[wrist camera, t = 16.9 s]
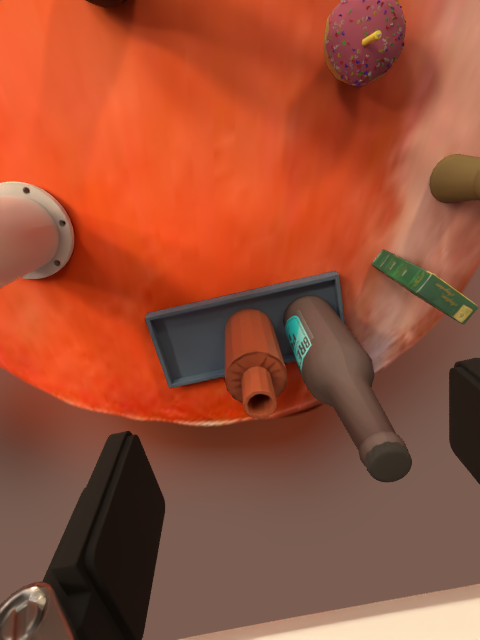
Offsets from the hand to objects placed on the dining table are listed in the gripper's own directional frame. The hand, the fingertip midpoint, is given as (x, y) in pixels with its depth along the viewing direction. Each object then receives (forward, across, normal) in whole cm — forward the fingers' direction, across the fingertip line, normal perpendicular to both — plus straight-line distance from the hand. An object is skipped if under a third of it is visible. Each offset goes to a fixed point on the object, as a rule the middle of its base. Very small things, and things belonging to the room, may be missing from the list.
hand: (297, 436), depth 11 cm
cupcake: (+42, -17, -17) cm, 49 cm away
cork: (+42, -29, 0) cm, 51 cm away
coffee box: (+42, -21, +11) cm, 49 cm away
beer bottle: (+42, -7, +15) cm, 45 cm away
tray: (+42, +2, +15) cm, 45 cm away
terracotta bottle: (+42, +2, +15) cm, 44 cm away
